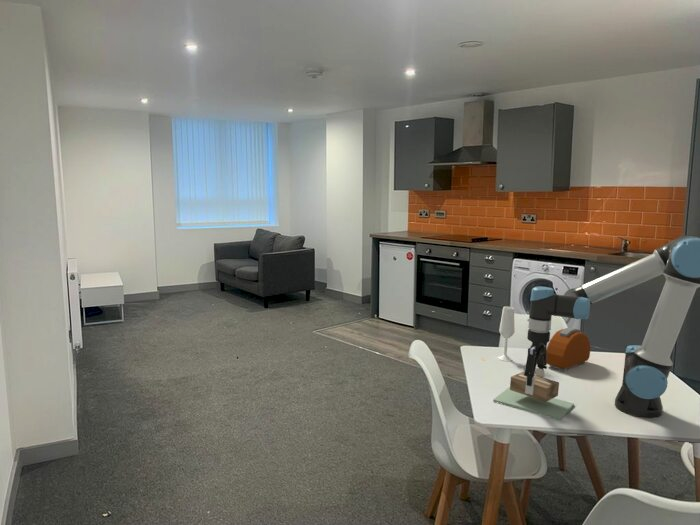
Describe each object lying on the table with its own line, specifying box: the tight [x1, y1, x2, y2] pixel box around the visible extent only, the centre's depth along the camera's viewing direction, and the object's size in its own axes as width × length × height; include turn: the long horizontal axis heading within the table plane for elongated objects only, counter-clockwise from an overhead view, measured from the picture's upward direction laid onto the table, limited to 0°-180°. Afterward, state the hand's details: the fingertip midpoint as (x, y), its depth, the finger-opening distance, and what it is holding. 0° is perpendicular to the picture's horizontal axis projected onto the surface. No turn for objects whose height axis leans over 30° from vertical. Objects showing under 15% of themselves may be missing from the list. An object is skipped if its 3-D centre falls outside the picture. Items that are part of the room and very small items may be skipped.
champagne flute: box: [497, 306, 516, 362], centre depth 241 cm, size 7×7×24 cm
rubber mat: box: [493, 386, 575, 421], centre depth 194 cm, size 24×16×1 cm, turn 53°
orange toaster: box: [547, 327, 591, 372], centre depth 236 cm, size 23×9×17 cm, turn 129°
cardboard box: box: [509, 371, 560, 402], centre depth 193 cm, size 9×14×5 cm, turn 42°
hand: (534, 389), depth 193 cm, fingers closed on cardboard box, 10 cm apart
